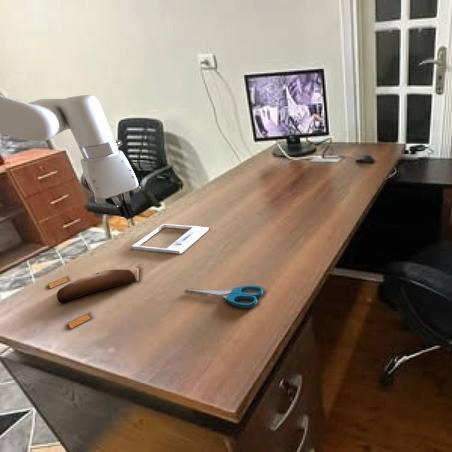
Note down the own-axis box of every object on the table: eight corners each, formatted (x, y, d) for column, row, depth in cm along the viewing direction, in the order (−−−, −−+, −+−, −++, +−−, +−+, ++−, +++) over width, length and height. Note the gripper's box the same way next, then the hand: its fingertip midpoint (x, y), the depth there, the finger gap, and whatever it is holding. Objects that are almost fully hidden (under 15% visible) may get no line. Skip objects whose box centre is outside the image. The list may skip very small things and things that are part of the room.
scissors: (252, 305, 80) (178, 297, 85) (253, 308, 80) (179, 300, 86) (264, 286, 86) (194, 280, 91) (265, 289, 86) (195, 283, 91)
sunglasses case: (139, 265, 100) (131, 254, 94) (142, 287, 97) (134, 277, 91) (66, 285, 94) (53, 275, 88) (67, 309, 91) (54, 300, 85)
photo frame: (179, 250, 104) (131, 245, 109) (180, 253, 104) (132, 248, 110) (207, 226, 116) (163, 223, 121) (208, 229, 117) (164, 226, 122)
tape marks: (70, 328, 80) (70, 328, 80) (48, 285, 96) (48, 284, 96) (90, 319, 82) (89, 318, 82) (65, 278, 98) (65, 277, 98)
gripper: (126, 140, 91) (151, 203, 100) (60, 156, 82) (93, 224, 91) (137, 143, 86) (161, 210, 95) (67, 161, 77) (102, 233, 86)
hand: (128, 217), depth 93 cm, fingers closed
